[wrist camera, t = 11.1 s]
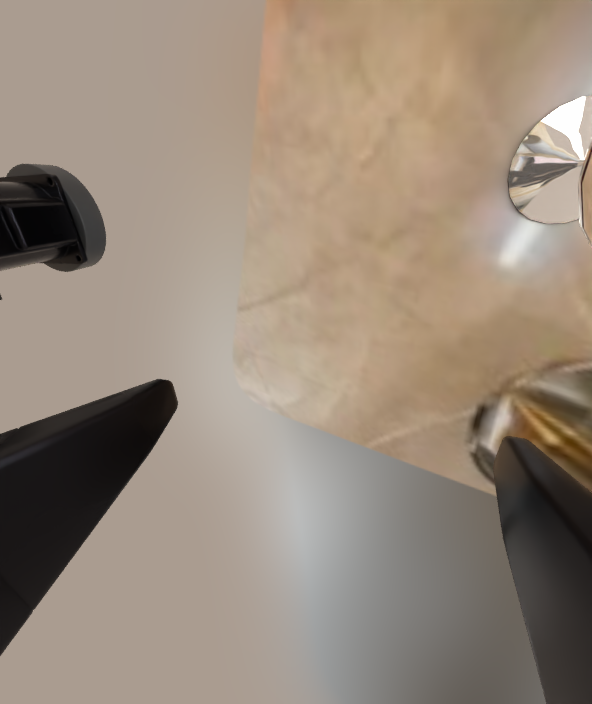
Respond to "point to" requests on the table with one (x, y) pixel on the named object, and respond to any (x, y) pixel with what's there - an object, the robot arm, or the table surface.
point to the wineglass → (556, 168)
